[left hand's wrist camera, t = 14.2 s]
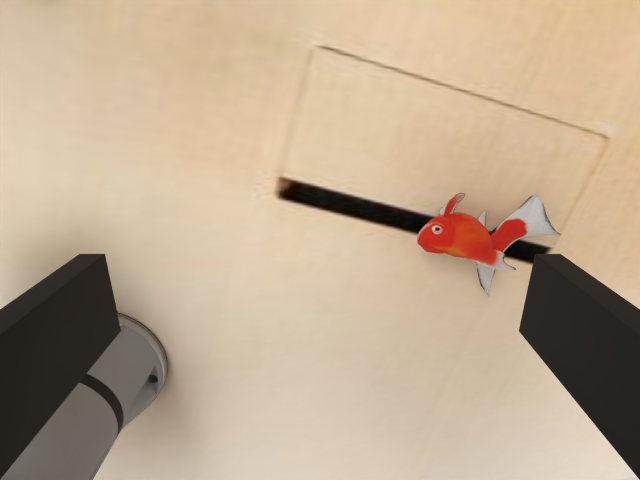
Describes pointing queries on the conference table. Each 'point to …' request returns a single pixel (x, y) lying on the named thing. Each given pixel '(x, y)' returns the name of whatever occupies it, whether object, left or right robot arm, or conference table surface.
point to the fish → (483, 235)
